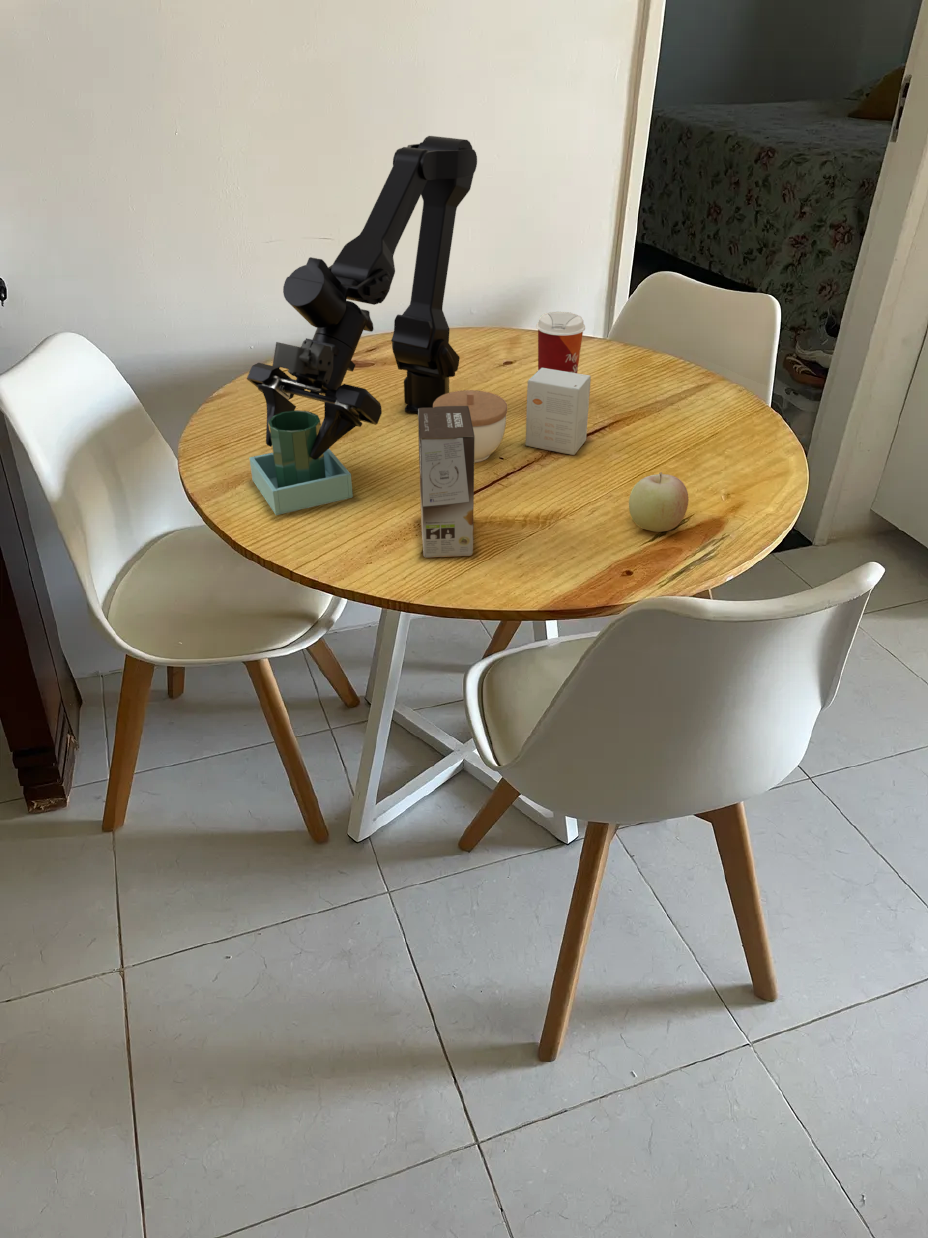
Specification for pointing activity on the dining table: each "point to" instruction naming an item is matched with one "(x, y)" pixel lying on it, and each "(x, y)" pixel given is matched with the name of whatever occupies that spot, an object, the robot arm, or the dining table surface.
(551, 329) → the paper cup
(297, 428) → the cup
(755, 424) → the dining table surface
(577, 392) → the small box
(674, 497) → the fruit
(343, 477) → the bin
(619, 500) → the dining table surface
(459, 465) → the coffee box
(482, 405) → the trinket box
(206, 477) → the dining table surface
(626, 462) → the dining table surface
